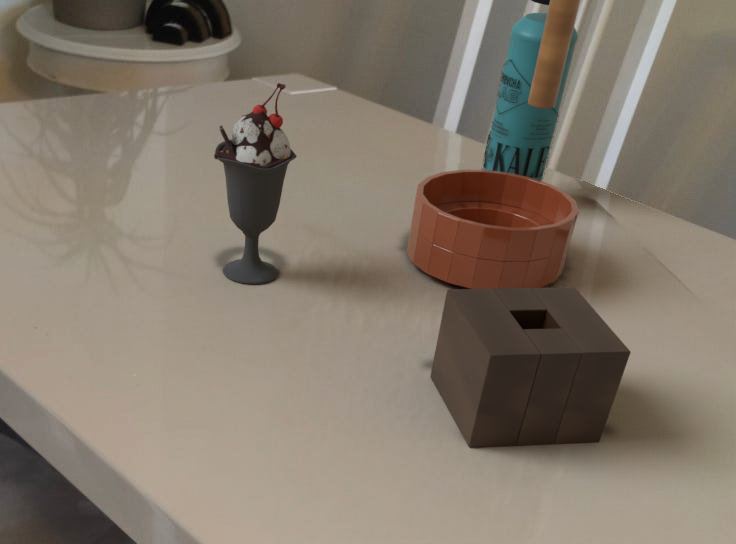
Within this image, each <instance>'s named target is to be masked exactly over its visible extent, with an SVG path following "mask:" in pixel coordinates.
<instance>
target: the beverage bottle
mask: <svg viewBox="0 0 736 544" xmlns="http://www.w3.org/2000/svg"><path fill="white" fill-rule="evenodd" d="M530 1H531V2H533V3H536V4H540V5H544V6H549V3H550V0H530ZM546 17H547V13H546V12H529V13H527V14H525V15H524V16H522V17H521V18H520V19H519V20H517V21H516V22H515V23H514V24H513V26H512V27H511V31H510V34H511V35H510V39H509V44H508V49H507V53H506V59H505V61H504V64H503V65H502V67H501V69H502V71H501V73H500V78H499V79H500V80H499V82H498V84H499V87H498V88H497V90H498V91H497V93H496V102H495V103H496V104H495V108H494V114H493V118H492V121H491V125H490V131H489V133H488V134H487V140H486V146H485V150H484V153H483V154H484V155H483V157H484V158H483V159H482V163H481V164H482V167H481V168H480V170H490V171H499V172H507V173H513V174H517V175H522V176H526V177H530V178H534V179H537V180H540V181H542V182H544V177H545V174H546V169H547V167H546V166H548V163H549V161H548V160H549V158H550V157H549V156H550V150H551V147H552V146H553V144H552V143H553V142H554V139H555V138H554V137H555V136H554V135H555V134H556V131H557V129H556V127H557V124H558V122H559V120H560V118H559V117H560V115H559V111H560V107H561V103H562V99H563V96H564V91H565V87H566V83H567V79H568V75H569V71H570V68H571V63H572V61H573V55H574V51H575V47H576V44H577V41H578V38H579V34H578V32H577V29H576V28H575V27H574V29H573V33H572V37H571V42H570V46H569V50H568V54H567V58H566V63H565V67H564V71H563V75H562V79H561V84H560V88H559V92H558V96H557V100H556V105H555V107H553V108H537V107H533V106H531V105H529V104H528V99H529V94H530V90H531V85H532V80H533V76H534V71H535V67H536V62H537V58H538V53H539V48H540V44H541V39H542V35H543V30H544V26H545V21H546Z"/></svg>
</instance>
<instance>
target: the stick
mask: <svg viewBox="0 0 736 544" xmlns="http://www.w3.org/2000/svg"><path fill="white" fill-rule="evenodd" d="M580 4H581V0H550V3H549V5H548V8H547V17H546V21H545V26H544V30H543V35H542V39H541V44H540V48H539V53H538V58H537V62H536V67H535V71H534V76H533V80H532V85H531V90H530V94H529V99H528V104H529V105H531V106H533V107H537V108H553V107H555V105H556V100H557V96H558V92H559V88H560V84H561V79H562V75H563V71H564V67H565V63H566V58H567V54H568V50H569V46H570V42H571V37H572V33H573V29H574V28H575V24H576V21H577V15H578V13H579V8H580Z"/></svg>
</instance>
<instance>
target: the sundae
mask: <svg viewBox="0 0 736 544" xmlns="http://www.w3.org/2000/svg"><path fill="white" fill-rule="evenodd" d="M285 89H286V84H284V83H280V82H278V83H276V87H275V89H274V90H273V93H272V94H271V95H270V96H269V97H268V99H266V100H265V102H263V104H256V105H254V107H252V111H251V112H250V113H246V114H242V115H241V117H240V118H239V119H238V121H237V122H236V123H235V124H234V125H233V128H232V133H231V138H229V136H228V135H227V132H226V131H225V129H224V126H223V125H222V124H221V125H220V126H219V131H220V134H221V136H222V138H223V140H224V141H222V142H220V143H218V144H217V146H216V147H215V151H214V155H213V158H214V160H218V161H220V162H221V163H222V164H223V171H224V177H225V185H226V195H227V196H226V197H227V198H226V199H227V207H228V213H229V218H230V219H231V221H232V223H233V224H234V225H235V227H236V228H237V229H238V230H240V231H241V233H243V235H244V249H243V253H242V257H241V258H240V259H235V260H232V261H229V262H227V263H226V264H224V265H223V268H222V274H223V275H224V276H225V278H227V279H229V280H231V281H233V282H236V283H239V284H244V285H263V284H266V283H267V284H268V283H270V282H273V280H275V279H276V278H277V277H278V275H279V271H278V269H277V268H276V266H275V265H273V264H272V263H270V262H268V261H263V260H262V259H261V257H260V252H259V239H260V235H261V234H262V233H263V232H265V231H266V230H268V229H269V228H270V227H271V226H272V225H273V224H274V223H275V221H276V219H277V216H278V211H279V208H280V204H281V198H282V193H283V188H284V182H285V178H286V175H287V170H288V166H289V164H290V163H291V162H292V161H293V160H295V159H296V158H297V157H298V156H297V154H296V153H295V151H294V150H292V148H291V144H290V139H289V138H288V136H287V134H286V133H285V132H284V130H283V129H282V128H281V127H282V126H283V124H284V119H283V117H282V116H281V115H280V114H279V111H278V101H279V96H280V94H281V92H282V90H285ZM277 90H279V91H278V93H277V95H276V98H275V102H274V113H271V114H269V116H268V109H267V108H266V105H267V103H268V102H270V101H271V99H272V98H273V97H274V95H275V93H276V92H277Z"/></svg>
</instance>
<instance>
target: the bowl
mask: <svg viewBox="0 0 736 544" xmlns="http://www.w3.org/2000/svg"><path fill="white" fill-rule="evenodd" d="M578 215H579V208H578V203H577V201H576V200H575V199H574V198H573V197H572V196H571V195H570V194H569V193H567V192H566V191H564V190H562V189H561V188H558V187H557V186H555V185H554V184H551V183H548V182H546V181H540V180H537V179H534V178H530V177H526V176H522V175H517V174H513V173H507V172H499V171H490V170H481V169H455V170H449V171H441V172H438V173H436V174H435V173H434V174H432V175H430V176H427V177H425V178H424V179H423V180H422V181H420V182H419V183H418V184H417V186H416V193H415V198H414V204H413V211H412V217H411V224H410V230H409V236H408V243H407V250H406V255H407V256H408V258H409V259H410V261H411V262H412V264H413V265H414V266H416V267H417V268H418V269H420V270H421V271H422V272H423V273H425V274H426V275H429V276H431V277H434V278H435V279H438V280H441V281H443V282H445V283H448V284H451V285H454V286H459V287H463V288H466V289H497V288H545V287H546V286H548V285H550V284H552V283H554V282H556V281H557V280H558V278H559V277H560V275H562V272H563V271H564V266H565V262H566V259H567V255H568V252H569V248H570V245H571V241H572V237H573V234H574V230H575V226H576V223H577V219H578Z"/></svg>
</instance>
